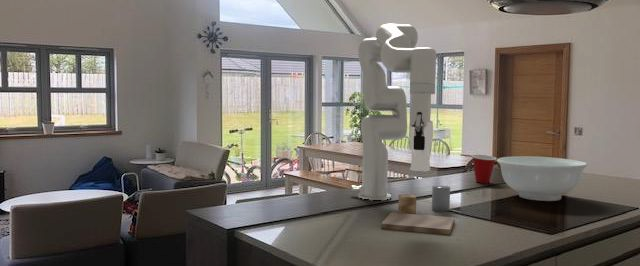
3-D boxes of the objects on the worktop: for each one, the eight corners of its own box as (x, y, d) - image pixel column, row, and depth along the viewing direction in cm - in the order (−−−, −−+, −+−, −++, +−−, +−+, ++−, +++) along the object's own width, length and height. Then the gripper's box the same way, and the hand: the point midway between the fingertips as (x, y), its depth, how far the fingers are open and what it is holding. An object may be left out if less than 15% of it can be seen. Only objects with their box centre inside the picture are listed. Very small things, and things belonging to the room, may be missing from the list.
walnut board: (381, 228, 167) (381, 223, 167) (391, 216, 182) (391, 212, 182) (449, 234, 161) (449, 229, 161) (454, 222, 176) (454, 217, 176)
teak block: (400, 215, 185) (401, 197, 185) (398, 211, 190) (398, 194, 190) (415, 215, 186) (416, 197, 185) (412, 212, 190) (413, 194, 190)
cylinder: (430, 210, 192) (431, 187, 192) (432, 207, 198) (433, 184, 197) (448, 212, 191) (449, 189, 190) (450, 208, 196) (450, 186, 196)
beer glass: (431, 172, 166) (433, 121, 165) (408, 171, 168) (409, 121, 167) (432, 169, 173) (433, 120, 172) (409, 168, 175) (410, 119, 173)
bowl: (498, 187, 240) (500, 153, 239) (582, 193, 228) (584, 158, 227) (492, 201, 210) (494, 162, 209) (588, 209, 198) (590, 168, 197)
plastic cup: (488, 185, 245) (489, 158, 244) (466, 182, 252) (467, 155, 251) (500, 182, 252) (501, 156, 251) (477, 179, 260) (478, 153, 259)
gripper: (414, 89, 178) (412, 145, 179) (405, 89, 161) (403, 151, 163) (438, 89, 176) (436, 146, 177) (431, 89, 159) (429, 152, 161)
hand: (420, 148), depth 170 cm, fingers closed on beer glass, 6 cm apart
